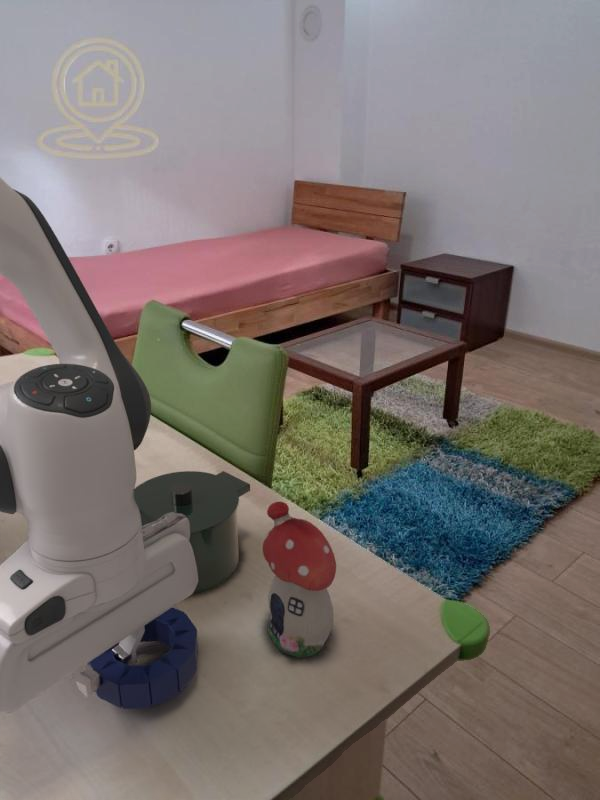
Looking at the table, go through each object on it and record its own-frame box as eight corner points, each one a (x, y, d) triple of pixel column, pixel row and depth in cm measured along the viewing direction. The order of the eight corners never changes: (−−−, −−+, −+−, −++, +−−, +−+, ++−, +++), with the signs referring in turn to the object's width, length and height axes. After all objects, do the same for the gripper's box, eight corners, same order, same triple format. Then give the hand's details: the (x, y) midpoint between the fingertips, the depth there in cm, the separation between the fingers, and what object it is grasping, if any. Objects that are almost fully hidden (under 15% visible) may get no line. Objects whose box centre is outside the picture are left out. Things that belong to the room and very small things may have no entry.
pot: (205, 509, 90) (199, 424, 84) (275, 548, 82) (274, 458, 76) (59, 590, 74) (41, 493, 69) (128, 649, 66) (114, 544, 61)
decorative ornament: (255, 611, 71) (252, 498, 65) (308, 595, 74) (310, 485, 68) (286, 672, 64) (287, 550, 57) (344, 652, 66) (351, 534, 60)
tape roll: (79, 711, 57) (75, 687, 56) (103, 627, 66) (100, 605, 65) (193, 705, 58) (191, 681, 57) (200, 624, 67) (199, 602, 66)
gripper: (166, 492, 62) (174, 601, 68) (-51, 600, 48) (-17, 726, 54) (209, 517, 58) (214, 631, 64) (-13, 642, 44) (20, 774, 50)
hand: (107, 676), depth 59 cm, fingers closed on tape roll, 2 cm apart
